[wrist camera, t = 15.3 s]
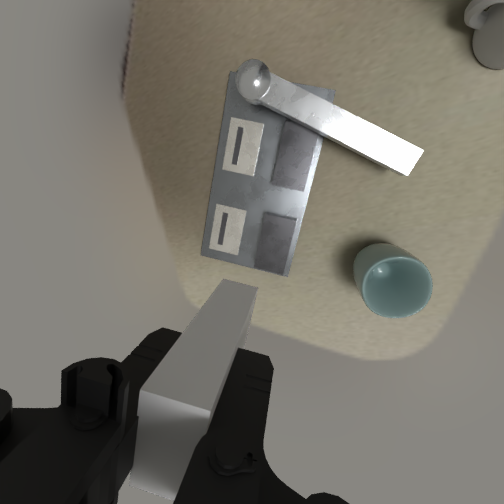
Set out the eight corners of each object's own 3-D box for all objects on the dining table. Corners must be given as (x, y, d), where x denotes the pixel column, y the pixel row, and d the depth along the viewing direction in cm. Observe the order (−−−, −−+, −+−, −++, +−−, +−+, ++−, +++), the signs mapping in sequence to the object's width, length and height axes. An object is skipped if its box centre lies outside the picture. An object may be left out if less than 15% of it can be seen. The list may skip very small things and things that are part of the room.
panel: (232, 74, 40) (224, 62, 35) (334, 92, 38) (338, 83, 34) (203, 253, 47) (193, 260, 43) (288, 274, 45) (286, 284, 41)
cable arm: (234, 95, 36) (229, 89, 33) (248, 62, 35) (244, 52, 32) (397, 179, 35) (405, 179, 33) (417, 147, 34) (427, 145, 31)
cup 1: (349, 289, 44) (362, 320, 35) (346, 240, 43) (359, 259, 33) (404, 286, 43) (433, 317, 33) (403, 234, 41) (434, 252, 32)
